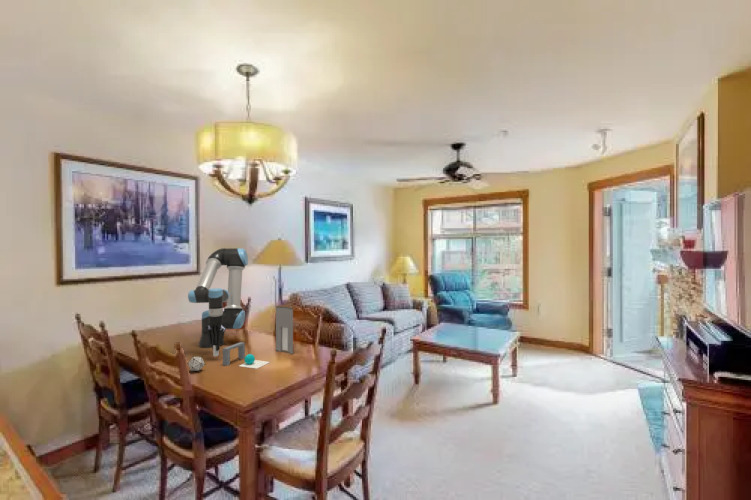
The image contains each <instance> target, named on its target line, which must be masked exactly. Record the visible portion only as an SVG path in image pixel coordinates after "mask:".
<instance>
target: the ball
mask: <svg viewBox="0 0 751 500" xmlns="http://www.w3.org/2000/svg"><path fill="white" fill-rule="evenodd" d="M243 360H244V363H246V364H252V363H253V362H254V361H255V360H256V358H255V355H254V354H251V353H249V354H245V358H244V359H243Z"/></svg>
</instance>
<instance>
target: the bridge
mask: <svg viewBox="0 0 751 500" xmlns="http://www.w3.org/2000/svg"><path fill="white" fill-rule="evenodd" d="M237 348H238V349H237ZM245 348H246V343H245V342H242V341H239V342H237V343H234V344H230V345H229V346H226V347H223V348H222V366H226V367H227V366H230V364H231V362H230V361H231V358H230V357H231V354H230V353H231V350H234V349H237V353H238V354H237V356H238V357H237V358H238V360H244V359H245V356H246V349H245Z"/></svg>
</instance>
